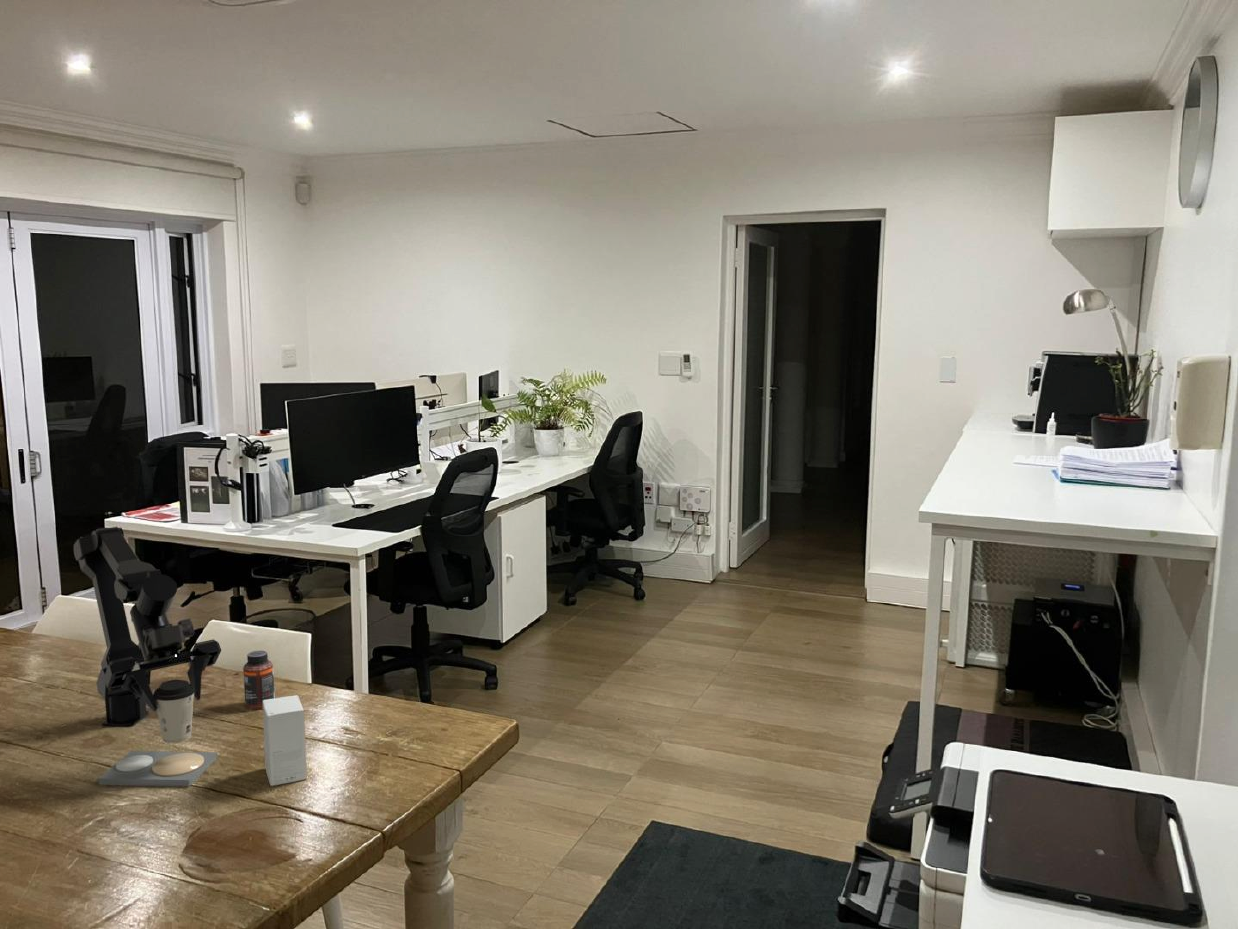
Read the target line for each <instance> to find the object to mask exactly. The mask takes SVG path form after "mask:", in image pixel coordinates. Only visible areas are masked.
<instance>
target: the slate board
mask: <svg viewBox="0 0 1238 929" xmlns="http://www.w3.org/2000/svg"><path fill="white" fill-rule="evenodd" d="M217 759H218V754H217V752H216V751H214V752H213V751H164V750H163V751H161V750H158V751H157V750H130V751H129V752H128V753H126V755H124V756H123V757H122V758H121V759H119V761H117V762H116V763H115V764H114V765H112V767H110V768H109V769H108V770H106V771H105V772H104V773H103V774H102V775H100V776H99V777H98V785H100V786H132V787H133V786H141V787H142V786H144V787H185V786H188V788H189V787H191V786H192V785H193V783H195V782H196V780H197V779H198V778H199V777H201V775H202V774H203V773H204V772H206V770H208V769H209V767H210V766H211V765H212V764H213V763H214V762H215V761H216V760H217Z"/></svg>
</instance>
